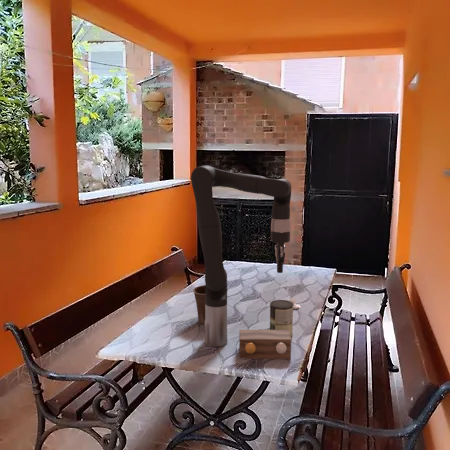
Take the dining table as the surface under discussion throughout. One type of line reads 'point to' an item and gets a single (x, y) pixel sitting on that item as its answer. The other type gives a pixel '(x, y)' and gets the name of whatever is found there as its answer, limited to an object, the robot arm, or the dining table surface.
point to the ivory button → (280, 347)
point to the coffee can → (281, 315)
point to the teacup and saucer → (294, 304)
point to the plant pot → (200, 303)
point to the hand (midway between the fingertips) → (279, 272)
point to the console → (264, 344)
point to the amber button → (250, 347)
